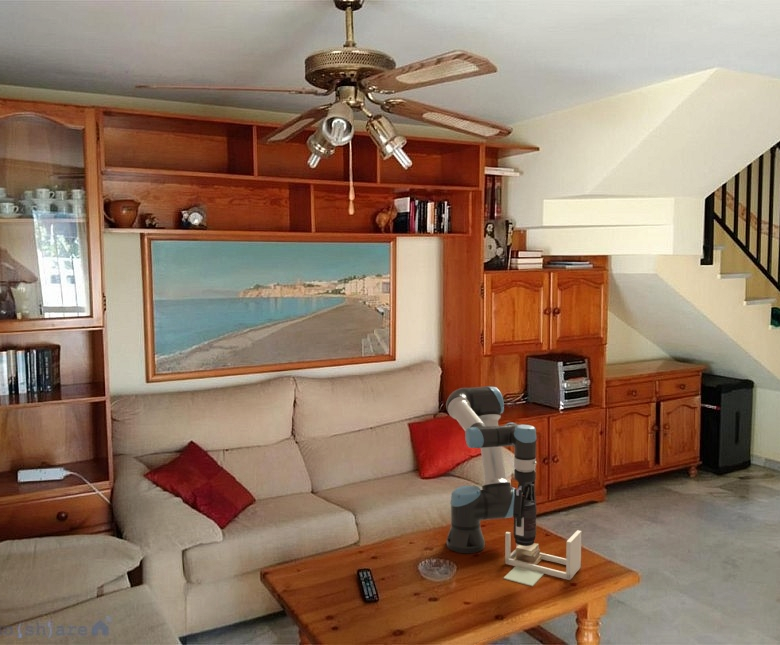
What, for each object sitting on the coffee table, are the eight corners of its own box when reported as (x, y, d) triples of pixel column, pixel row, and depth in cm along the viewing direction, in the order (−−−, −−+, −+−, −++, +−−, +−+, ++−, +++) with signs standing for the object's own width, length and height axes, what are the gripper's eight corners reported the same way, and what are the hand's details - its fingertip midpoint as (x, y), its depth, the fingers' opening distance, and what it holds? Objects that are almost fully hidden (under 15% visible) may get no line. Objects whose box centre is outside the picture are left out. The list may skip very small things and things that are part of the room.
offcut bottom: (513, 564, 263) (513, 558, 263) (521, 557, 270) (521, 551, 270) (533, 569, 259) (533, 563, 259) (541, 561, 266) (541, 555, 265)
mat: (503, 578, 251) (503, 577, 251) (515, 567, 260) (515, 565, 260) (532, 586, 245) (532, 585, 245) (544, 574, 254) (544, 573, 254)
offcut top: (516, 552, 263) (516, 547, 262) (523, 545, 269) (523, 540, 269) (531, 556, 259) (531, 551, 259) (538, 549, 266) (538, 544, 265)
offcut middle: (516, 559, 263) (516, 553, 263) (521, 551, 269) (521, 546, 269) (534, 562, 259) (534, 556, 259) (539, 555, 266) (539, 549, 265)
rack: (505, 563, 263) (505, 527, 261) (517, 552, 273) (518, 517, 271) (570, 580, 249) (570, 542, 248) (580, 567, 259) (581, 531, 258)
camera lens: (534, 538, 254) (535, 498, 253) (537, 547, 246) (537, 506, 245) (512, 537, 255) (512, 497, 254) (514, 546, 247) (514, 505, 246)
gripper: (523, 478, 238) (523, 543, 240) (545, 463, 255) (545, 523, 257) (503, 475, 242) (502, 538, 244) (526, 460, 259) (525, 519, 261)
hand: (524, 530), depth 250 cm, fingers closed on camera lens, 8 cm apart
